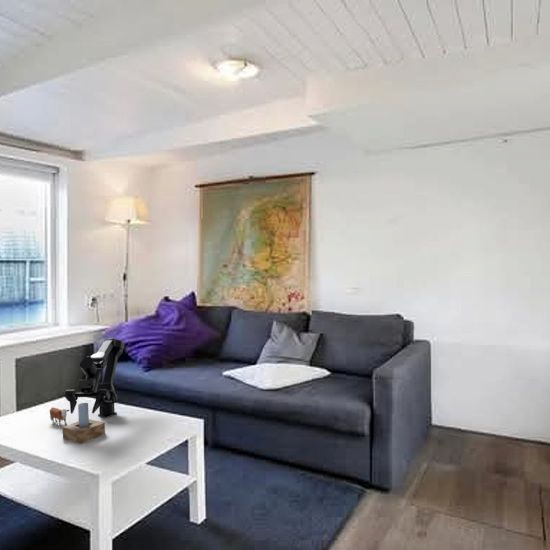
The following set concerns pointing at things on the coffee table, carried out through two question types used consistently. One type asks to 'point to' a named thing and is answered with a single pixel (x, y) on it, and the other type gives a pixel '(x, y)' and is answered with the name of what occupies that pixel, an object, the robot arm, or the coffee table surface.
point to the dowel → (83, 415)
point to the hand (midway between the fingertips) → (82, 413)
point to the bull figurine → (58, 415)
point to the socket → (83, 431)
